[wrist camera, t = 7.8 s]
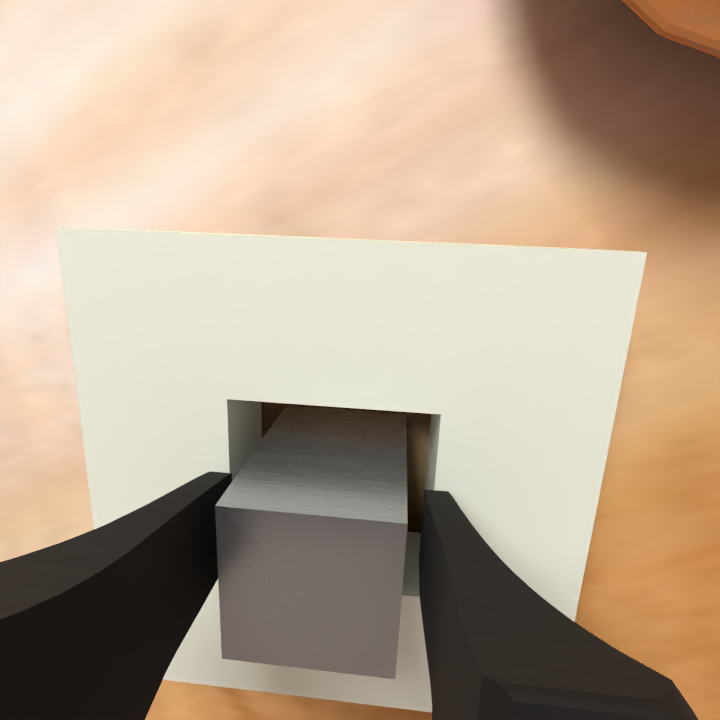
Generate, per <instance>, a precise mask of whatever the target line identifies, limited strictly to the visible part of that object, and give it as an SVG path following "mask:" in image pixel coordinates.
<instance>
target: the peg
mask: <svg viewBox="0 0 720 720" xmlns="http://www.w3.org/2000/svg"><path fill="white" fill-rule="evenodd" d="M215 518H216V540H217V562H218V585H219V607H220V629H221V651H222V659H228V660H236V661H245V662H253V663H262V664H270V665H278V666H287V667H295V668H304V669H312V670H320V671H329V672H337V673H346V674H354V675H362V676H371V677H379V678H388V679H395V676H396V663H397V651H398V638H399V625H400V613H401V600H402V587H403V575H404V562H405V549H406V537H407V524H408V521H407V424H406V414H396V413H382V412H369V411H355V410H342V409H328V408H315V407H301V406H288V405H286V406H285V407H284V409H283V410H282V412H281V413H280V414H279V416H278V417H277V419H276V420H275V422H274V423H273V424H272V426H271V427H270V429H269V430H268V431H267V433H266V434H265V436H264V437H263V439H262V440H261V441H260V443H259V444H258V446H257V447H256V448H255V450H254V451H253V453H252V454H251V456H250V457H249V458H248V460H247V461H246V463H245V464H244V465H243V467H242V468H241V470H240V471H239V473H238V474H237V475H236V477H235V478H234V480H233V481H232V482H231V484H230V485H229V487H228V488H227V490H226V491H225V492H224V494H223V495H222V497H221V498H220V499H219V501H218V502H217V504H216V505H215Z"/></svg>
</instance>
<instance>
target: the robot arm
mask: <svg viewBox="0 0 720 720" xmlns="http://www.w3.org/2000/svg"><path fill="white" fill-rule="evenodd" d="M231 482H232V473H223V472H211V471H210V472H207V473H205V474H203V475H201V476H199V477H197V478H195V479H193V480H191V481H189V482H187V483H185V484H184V485H182V486H180V487H178V488H176V489H175V490H173V491H171V492H169V493H167V494H165V495H163V496H162V497H160V498H158V499H156V500H154V501H152V502H151V503H149V504H147V505H145V506H143V507H141V508H139V509H137V510H135V511H133V512H131V513H129V514H126V515H124V516H122V517H120V518H118V519H116V520H114V521H112V522H110V523H108V524H106V525H104V526H101V527H99V528H97V529H94V530H92V531H90V532H87V533H85V534H82V535H80V536H77V537H75V538H72V539H70V540H67V541H64V542H62V543H59V544H56V545H53V546H50V547H47V548H44V549H41V550H38V551H35V552H32V553H29V554H26V555H23V556H20V557H17V558H14V559H10V560H7V561H3V562H0V720H145V718H146V715H147V713H148V711H149V709H150V706H151V704H152V702H153V700H154V698H155V695H156V693H157V691H158V689H159V686H160V684H161V682H162V680H163V678H164V675H165V673H166V671H167V669H168V667H169V665H170V663H171V661H172V659H173V658H174V656H175V654H176V652H177V650H178V648H179V647H180V645H181V643H182V641H183V640H184V638H185V636H186V634H187V633H188V631H189V629H190V627H191V626H192V624H193V622H194V620H195V618H196V617H197V615H198V613H199V611H200V610H201V608H202V606H203V604H204V603H205V601H206V599H207V597H208V596H209V594H210V592H211V590H212V588H213V587H214V585H215V583H216V581H217V579H218V562H217V540H216V518H215V505H216V504H217V502H218V501H219V499H220V498H221V497H222V495H223V494H224V492H225V491H226V490H227V488H228V487H229V485H230V484H231ZM419 596H420V605H421V613H422V621H423V629H424V637H425V645H426V653H427V661H428V669H429V677H430V687H431V699H432V719H433V720H698V718H697V717H696V715H695V713H694V712H693V710H692V709H691V707H690V706H689V704H688V703H687V701H686V700H685V699H684V697H683V696H682V694H681V693H680V691H679V690H678V689H677V687H676V686H675V684H674V683H673V681H672V680H671V679H669V678H667V677H665V676H663V675H661V674H660V673H658V672H656V671H654V670H652V669H651V668H649V667H647V666H645V665H643V664H642V663H640V662H638V661H636V660H634V659H633V658H631V657H629V656H627V655H625V654H623V653H622V652H620V651H618V650H617V649H615V648H613V647H612V646H610V645H609V644H607V643H605V642H604V641H602V640H601V639H599V638H598V637H596V636H595V635H593V634H591V633H590V632H588V631H587V630H585V629H584V628H582V627H581V626H580V625H578V624H577V623H575V622H574V621H572V620H571V619H569V618H568V617H567V616H565V615H564V614H563V613H562V612H560V611H559V610H558V609H556V608H555V607H554V606H552V605H551V604H550V603H548V602H547V601H546V600H545V599H543V598H542V597H541V596H540V595H539V594H537V593H536V592H535V591H534V590H533V589H532V588H530V587H529V586H528V585H527V584H526V583H525V582H524V581H523V580H522V579H521V578H519V577H518V576H517V575H516V574H515V573H514V572H513V571H512V570H511V569H510V568H509V567H508V566H507V565H506V564H505V563H504V562H503V561H502V560H501V559H500V558H499V557H498V555H497V554H496V553H495V552H494V551H493V550H492V549H491V548H490V546H489V545H488V544H487V543H486V542H485V540H484V539H483V538H482V537H481V535H480V534H479V533H478V531H477V530H476V529H475V528H474V526H473V525H472V524H471V522H470V521H469V520H468V518H467V517H466V515H465V514H464V513H463V511H462V510H461V508H460V507H459V505H458V504H457V502H456V501H455V499H454V498H453V496H452V495H451V494H450V493H449V492H448V491H437V490H425V492H424V503H423V515H422V527H421V538H420V550H419Z"/></svg>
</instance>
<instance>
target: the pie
mask: <svg viewBox="0 0 720 720" xmlns="http://www.w3.org/2000/svg"><path fill="white" fill-rule="evenodd" d="M622 1H623V2H624V3H625V4H626V5H627V6H628V7H629V8H630V9H631V10H632V11H634V12H635V13H636V14H637V15H638V16H639V17H640V18H641V19H642V20H643V21H644V22H645V23H646V24H647V25H649V26H650V27H651V28H652V29H653V30H654V31H655V32H656V33H657V34H658V35H660V36H662V37H665V38H668V39H670V40H673V41H676V42H678V43H681V44H684V45H686V46H689V47H692V48H694V49H697V50H700V51H702V52H705V53H708V54H710V55H713V56H716V57H718V58H720V0H622Z"/></svg>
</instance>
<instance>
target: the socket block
mask: <svg viewBox="0 0 720 720" xmlns="http://www.w3.org/2000/svg"><path fill="white" fill-rule="evenodd" d="M56 233H57V241H58V248H59V256H60V264H61V272H62V280H63V288H64V296H65V303H66V311H67V319H68V327H69V335H70V343H71V351H72V359H73V366H74V374H75V382H76V390H77V398H78V406H79V414H80V421H81V429H82V437H83V445H84V453H85V461H86V469H87V477H88V484H89V492H90V500H91V508H92V516H93V524H94V529H97V528H99V527H101V526H104V525H106V524H108V523H110V522H112V521H114V520H116V519H118V518H120V517H122V516H124V515H126V514H129V513H131V512H133V511H135V510H137V509H139V508H141V507H143V506H145V505H147V504H149V503H151V502H152V501H154V500H156V499H158V498H160V497H162V496H163V495H165V494H167V493H169V492H171V491H173V490H175V489H176V488H178V487H180V486H182V485H184V484H185V483H187V482H189V481H191V480H193V479H195V478H197V477H199V476H201V475H203V474H205V473H207V472H210V471H211V472H223V473H232V481H233V480H234V478H235V477H236V475H237V474H238V473H239V471H240V470H241V468H242V467H243V465H244V464H245V463H246V461H247V460H248V458H249V457H250V456H251V454H252V453H253V451H254V450H255V448H256V447H257V446H258V444H259V443H260V441H261V440H262V402H273V403H287V404H301V405H315V406H329V407H343V408H357V409H371V410H385V411H399V412H413V413H427V414H431V420H430V432H429V443H428V455H427V467H426V479H425V490H437V491H448V492H449V493H450V494H451V495H452V496H453V498H454V499H455V501H456V502H457V504H458V505H459V507H460V508H461V510H462V511H463V513H464V514H465V515H466V517H467V518H468V520H469V521H470V522H471V524H472V525H473V526H474V528H475V529H476V530H477V531H478V533H479V534H480V535H481V537H482V538H483V539H484V540H485V542H486V543H487V544H488V545H489V546H490V548H491V549H492V550H493V551H494V552H495V553H496V554H497V555H498V557H499V558H500V559H501V560H502V561H503V562H504V563H505V564H506V565H507V566H508V567H509V568H510V569H511V570H512V571H513V572H514V573H515V574H516V575H517V576H518V577H519V578H521V579H522V580H523V581H524V582H525V583H526V584H527V585H528V586H529V587H530V588H532V589H533V590H534V591H535V592H536V593H537V594H539V595H540V596H541V597H542V598H543V599H545V600H546V601H547V602H548V603H550V604H551V605H552V606H554V607H555V608H556V609H558V610H559V611H560V612H562V613H563V614H564V615H565V616H567V617H568V618H569V619H571V620H572V621H574V622H575V617H576V611H577V606H578V601H579V596H580V591H581V586H582V581H583V576H584V571H585V566H586V561H587V556H588V550H589V545H590V540H591V535H592V530H593V525H594V520H595V515H596V510H597V505H598V500H599V495H600V489H601V484H602V479H603V474H604V469H605V464H606V459H607V454H608V449H609V444H610V439H611V434H612V428H613V423H614V418H615V413H616V408H617V403H618V398H619V393H620V388H621V383H622V378H623V373H624V367H625V362H626V357H627V352H628V347H629V342H630V337H631V332H632V327H633V322H634V317H635V312H636V306H637V301H638V296H639V291H640V286H641V281H642V276H643V271H644V266H645V261H646V256H647V252H636V251H620V250H604V249H585V248H561V247H537V246H513V245H489V244H465V243H441V242H417V241H393V240H369V239H345V238H321V237H297V236H273V235H249V234H225V233H201V232H177V231H153V230H129V229H95V228H59V227H56ZM425 490H424V492H425ZM423 503H424V502H423ZM422 515H423V514H422ZM421 527H422V525H421ZM420 538H421V533H417V532H407V537H406V549H405V562H404V575H403V587H402V600H401V613H400V625H399V638H398V651H397V663H396V676H395V679H388V678H379V677H371V676H362V675H354V674H346V673H337V672H329V671H320V670H312V669H304V668H295V667H287V666H278V665H270V664H262V663H253V662H245V661H236V660H228V659H222V651H221V629H220V607H219V585H218V579H217V581H216V583H215V585H214V587H213V588H212V590H211V592H210V594H209V596H208V597H207V599H206V601H205V603H204V604H203V606H202V608H201V610H200V611H199V613H198V615H197V617H196V618H195V620H194V622H193V624H192V626H191V627H190V629H189V631H188V633H187V634H186V636H185V638H184V640H183V641H182V643H181V645H180V647H179V648H178V650H177V652H176V654H175V656H174V658H173V659H172V661H171V663H170V665H169V667H168V669H167V671H166V673H165V675H164V678H163V680H171V681H179V682H187V683H195V684H203V685H212V686H220V687H228V688H236V689H244V690H252V691H261V692H269V693H277V694H285V695H293V696H301V697H310V698H318V699H326V700H334V701H342V702H350V703H358V704H367V705H375V706H383V707H391V708H399V709H407V710H416V711H424V712H432V699H431V687H430V677H429V669H428V661H427V653H426V645H425V637H424V629H423V621H422V613H421V605H420V596H419V550H420Z"/></svg>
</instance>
